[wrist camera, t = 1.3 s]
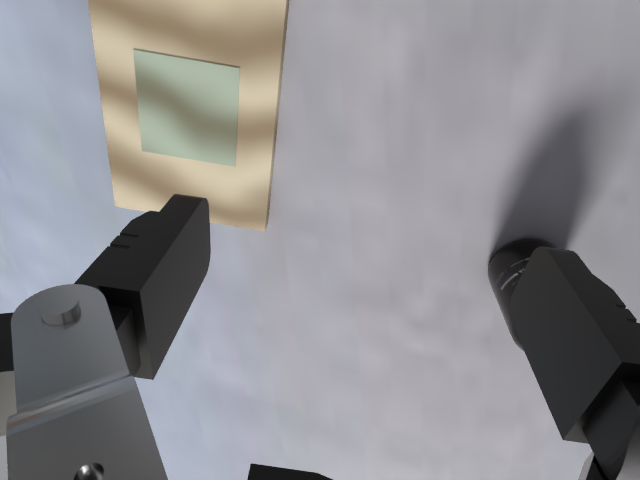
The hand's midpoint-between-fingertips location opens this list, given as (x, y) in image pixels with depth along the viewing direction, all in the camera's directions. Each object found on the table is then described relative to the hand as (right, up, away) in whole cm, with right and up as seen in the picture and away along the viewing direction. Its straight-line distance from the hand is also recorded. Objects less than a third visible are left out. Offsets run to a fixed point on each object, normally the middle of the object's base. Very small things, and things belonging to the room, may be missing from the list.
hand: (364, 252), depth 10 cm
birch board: (-12, +11, +24) cm, 29 cm away
